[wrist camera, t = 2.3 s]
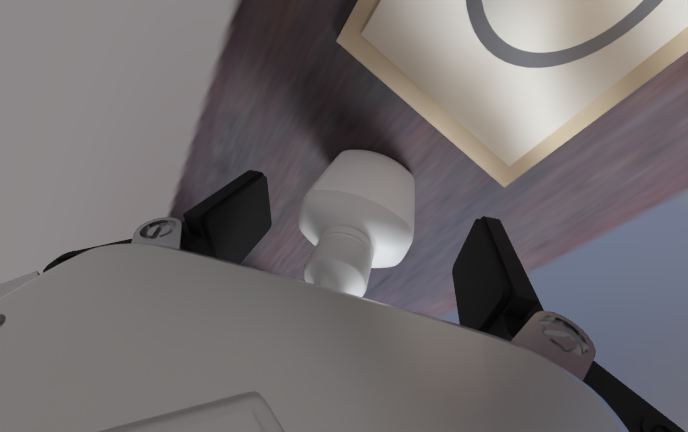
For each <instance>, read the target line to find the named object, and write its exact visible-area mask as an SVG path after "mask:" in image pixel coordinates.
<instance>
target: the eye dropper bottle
mask: <svg viewBox="0 0 688 432" xmlns="http://www.w3.org/2000/svg"><path fill="white" fill-rule="evenodd" d="M298 225H299V228H300V230H301V232H302V233H303V235H304V236H305V237H306V238H307V239H308V240H309V241H310V242H311V243H312V244H313V245H315V246H316V247H315V248H314V250H313V252H312V254H311V256H310V258H309V259H308V261H307V263H306V265H305V267H304V271H303V272H304V274H303V275H304V279H305V282H308V283H311V284H315V285H319V286H322V287H326V288H330V289H333V290H337V291H341V292H344V293H348V294H352V295H355V296H359V297H363V295H364V293H365V292H366V289H367V284H368V280H369V275H370V270H371V268H385V267H391V266H395V265H397V264H398V263H400V262H401V260H402V259H403V258H404V256H405V254H406V253H407V251H408V249H409V247H410V245H411V243H412V240H413V234H414V178H413V176H412V174H411V173H410V172H409V171H408V170H407V169H406V168H405V167H403V166H402V165H401V164H399V163H398V162H396V161H395V160H393V159H391V158H389V157H387V156H385V155H382V154H380V153H376V152H372V151H367V150H345V151H343V152H341V153H340V154H339V155H338V156H337V157H336V158H335V160H334V161H333V162H332V163H331V164H330V165H329V167H328V168H327V169H326V170H325V171H324V173H323V174H322V175H321V176H320V177H319V179H318V180H317V181H316V182H315V183H314V185H313V186H312V187H311V189H310V190H309V191H308V192H307V194H306V195H305V197H304V199H303V201H302V204H301V208H300V212H299V218H298Z"/></svg>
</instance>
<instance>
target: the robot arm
mask: <svg viewBox="0 0 688 432" xmlns="http://www.w3.org/2000/svg"><path fill="white" fill-rule="evenodd" d="M183 215H184V218H185V221H184V222H182V223H181V221H180V220H178V219H176V218H170V217H166V218H159V219H154V220H152V221H149V222H146V223H145V224H143V225H141V226H140V227H139V228H137V230H136V231H135V233H134V236H133V239H129V240H124V241H119V242H115V243H110V244H106V245H101V246H97V247H91V248H87V249H82V250H78V251H72V252H68V253H66V254H63V255H62V256H60V257H58V258H57V259H56V260H54V261H53V262H52V263H50V264H49V265H48V266H47V267H46V268H45V269H44V270H43V273H42V274H39V273H38V272H37V271H36V272H33V273H30V274H27V275H25V276H22V277H19V278H16V279H14V280H10V281H8V282H5V283H2V284H0V432H685V431H684V430H682V429H681V428H680V427H678V426H677V425H676V424H675V423H673V422H672V421H670V420H669V419H668V418H667V417H666V416H664V415H663V414H662V413H660V412H659V411H658V410H657V409H655V408H654V407H653V406H651V405H650V404H649V403H648V402H646V401H645V400H644V399H642V398H641V397H640V396H639V395H637V394H636V393H635V392H633V391H632V390H631V389H629V388H628V387H627V386H626V385H624V384H623V383H622V382H620V381H619V380H618V379H617V378H615V377H614V376H612V375H611V374H610V373H609V372H607V371H606V370H605V369H604V368H602V367H601V366H600V365H598V364H597V363H596V362H595V361H593V360H594V358H595V352H596V351H595V347H594V345H593V343H592V341H591V340H590V338H589V337H588V335H587V334H586V333H585V332H584V331H583V330H582V329H581V328H579V326H577V325H576V324H575V323H573V322H572V321H570V320H569V319H567V318H565V317H563V316H561V315H559V314H556V313H554V312H549V311H544V310H543V308H542V306H541V304H540V302H539V299H538V298H537V295H536V293H535V291H534V289H533V287H532V285H531V283H530V281H529V279H528V277H527V275H526V273H525V271H524V268H523V266H522V264H521V262H520V260H519V258H518V256H517V254H516V252H515V250H514V248H513V246H512V244H511V242H510V240H509V238H508V236H507V234H506V232H505V229H504V227H503V225H502V223H501V221H500V220H499V219H495V218H490V217H485V216H483V217H482V218H481V219H476V220H475V222H474V224H473V226H472V228H471V230H470V232H469V234H468V236H467V238H466V241H465V243H464V245H463V247H462V249H461V251H460V253H459V255H458V257H457V259H456V261H455V263H454V266H453V270H452V274H453V281H454V288H455V294H456V301H457V308H458V314H459V321H460V325H459V324H456V323H452V322H448V321H445V320H441V319H438V318H434V317H431V316H427V315H424V314H420V313H417V312H413V311H410V310H406V309H402V308H399V307H395V306H391V305H388V304H384V303H381V302H377V301H373V300H370V299H366V298H363V297H359V296H355V295H352V294H348V293H344V292H341V291H337V290H333V289H330V288H326V287H322V286H319V285H315V284H311V283H308V282H304V281H300V280H297V279H293V278H289V277H285V276H282V275H278V274H274V273H270V272H267V271H263V270H259V269H255V268H252V267H248V266H244V265H240V263H241V262H242V261H243V260H244V258H245V257H246V256H247V255H248V254H249V253H250V251H251V250H252V249H253V248H254V247H255V246H256V244H257V243H258V242H259V241H260V240H261V239H262V238H263V236H264V235H265V234H266V233H267V232H268V231H269V229H270V228H271V224H272V221H271V212H270V203H269V194H268V185H267V178H266V176H264V175H263V173H262V172H258V171H253V170H249V171H247V172H245V173H244V174H242V175H241V176H239V177H238V178H236V179H235V180H233V181H232V182H230V183H229V184H228V185H226V186H225V187H223V188H222V189H220V190H219V191H217V192H216V193H214V194H213V195H211V196H210V197H208V198H207V199H205V200H204V201H202V202H201V203H199V204H198V205H196V206H195V207H193V208H192V209H190V210H189V211H187V212H186V213H184V214H183Z"/></svg>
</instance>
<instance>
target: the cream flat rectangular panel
mask: <svg viewBox="0 0 688 432" xmlns="http://www.w3.org/2000/svg"><path fill="white" fill-rule="evenodd" d="M336 42H338V43H339V44H340V45H341V46H342V47H343V48H344V49H346V50H347V51H348V52H349V53H350V54H351V55H352V56H354V57H355V58H356V59H357V60H358V61H359V62H361V63H362V64H363V65H364V66H365V67H366V68H367V69H369V70H370V71H371V72H372V73H373V74H374V75H375V76H377V77H378V78H379V79H380V80H381V81H382V82H384V83H385V84H386V85H387V86H388V87H389V88H390V89H392V90H393V91H394V92H395V93H396V94H397V95H398V96H400V97H401V98H402V99H403V100H404V101H405V102H407V103H408V104H409V105H410V106H411V107H412V108H413V109H415V110H416V111H417V112H418V113H419V114H420V115H421V116H423V117H424V118H425V119H426V120H427V121H428V122H430V123H431V124H432V125H433V126H434V127H435V128H436V129H438V130H439V131H440V132H441V133H442V134H443V135H444V136H446V137H447V138H448V139H449V140H450V141H451V142H453V143H454V144H455V145H456V146H457V147H458V148H459V149H461V150H462V151H463V152H464V153H465V154H466V155H467V156H469V157H470V158H471V159H472V160H473V161H474V162H476V163H477V164H478V165H479V166H480V167H481V168H482V169H484V170H485V171H486V172H487V173H488V174H489V175H491V176H492V177H493V178H494V179H495V180H496V181H497V182H499V183H500V184H501V185H502V186H503V187H506V186H507V185H509V184H510V183H511V182H513V181H514V180H515V179H517V178H518V177H519V176H521V175H522V174H523V173H525V172H526V171H527V170H529V169H530V168H531V167H533V166H534V165H535V164H537V163H538V162H539V161H541V160H542V159H543V158H545V157H546V156H547V155H549V154H550V153H552V152H553V151H554V150H556V149H557V148H558V147H560V146H561V145H562V144H564V143H565V142H566V141H568V140H569V139H570V138H572V137H573V136H574V135H576V134H577V133H578V132H580V131H581V130H582V129H584V128H585V127H586V126H588V125H589V124H590V123H592V122H593V121H595V120H596V119H597V118H599V117H600V116H601V115H603V114H604V113H605V112H607V111H608V110H609V109H611V108H612V107H613V106H615V105H616V104H617V103H619V102H620V101H621V100H623V99H624V98H625V97H627V96H628V95H629V94H631V93H632V92H633V91H635V90H636V89H638V88H639V87H640V86H642V85H643V84H644V83H646V82H647V81H648V80H650V79H651V78H652V77H654V76H655V75H656V74H658V73H659V72H660V71H662V70H663V69H664V68H666V67H667V66H668V65H670V64H671V63H672V62H674V61H675V60H676V59H678V58H679V57H681V56H682V55H683V54H685V53H686V52H687V51H688V0H358V1H357V3H356V5H355V7H354V9H353V10H352V12H351V14H350V16H349V18H348V20H347V22H346V24H345V25H344V27H343V29H342V31H341V33H340V35H339V37H338V39H337V40H336Z"/></svg>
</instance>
